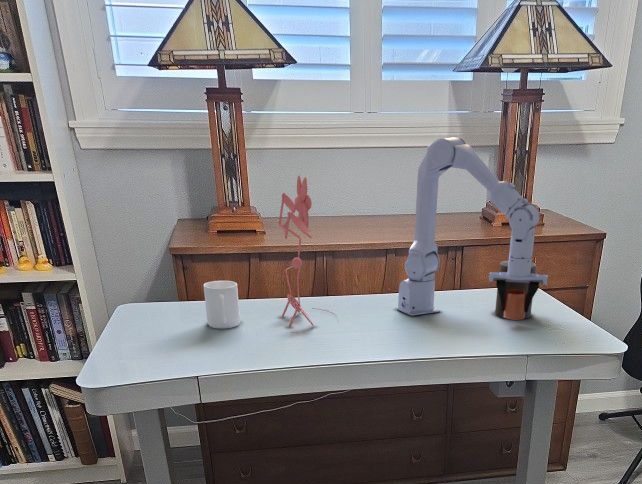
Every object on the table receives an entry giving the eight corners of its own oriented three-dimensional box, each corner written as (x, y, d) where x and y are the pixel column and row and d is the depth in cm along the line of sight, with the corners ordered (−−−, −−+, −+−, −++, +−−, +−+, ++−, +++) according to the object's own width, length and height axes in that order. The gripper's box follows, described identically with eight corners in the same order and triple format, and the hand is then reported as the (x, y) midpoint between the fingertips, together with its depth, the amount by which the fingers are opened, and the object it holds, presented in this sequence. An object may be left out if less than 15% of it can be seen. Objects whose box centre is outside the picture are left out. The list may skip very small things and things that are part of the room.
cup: (240, 318, 184) (236, 279, 180) (241, 332, 174) (237, 291, 169) (207, 320, 183) (203, 281, 178) (207, 334, 173) (202, 292, 168)
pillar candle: (502, 320, 187) (508, 263, 180) (490, 310, 195) (495, 255, 188) (536, 318, 189) (543, 262, 182) (522, 309, 197) (529, 254, 190)
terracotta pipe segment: (528, 318, 181) (531, 293, 178) (512, 321, 179) (514, 295, 176) (515, 313, 185) (518, 288, 182) (498, 315, 183) (501, 290, 180)
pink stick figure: (292, 337, 172) (285, 183, 155) (272, 309, 193) (264, 171, 176) (352, 332, 176) (352, 182, 159) (326, 305, 197) (323, 170, 180)
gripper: (549, 254, 177) (542, 308, 184) (491, 252, 179) (487, 304, 186) (550, 260, 171) (543, 315, 177) (490, 257, 173) (486, 312, 179)
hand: (514, 310), depth 181 cm, fingers closed on terracotta pipe segment, 5 cm apart
